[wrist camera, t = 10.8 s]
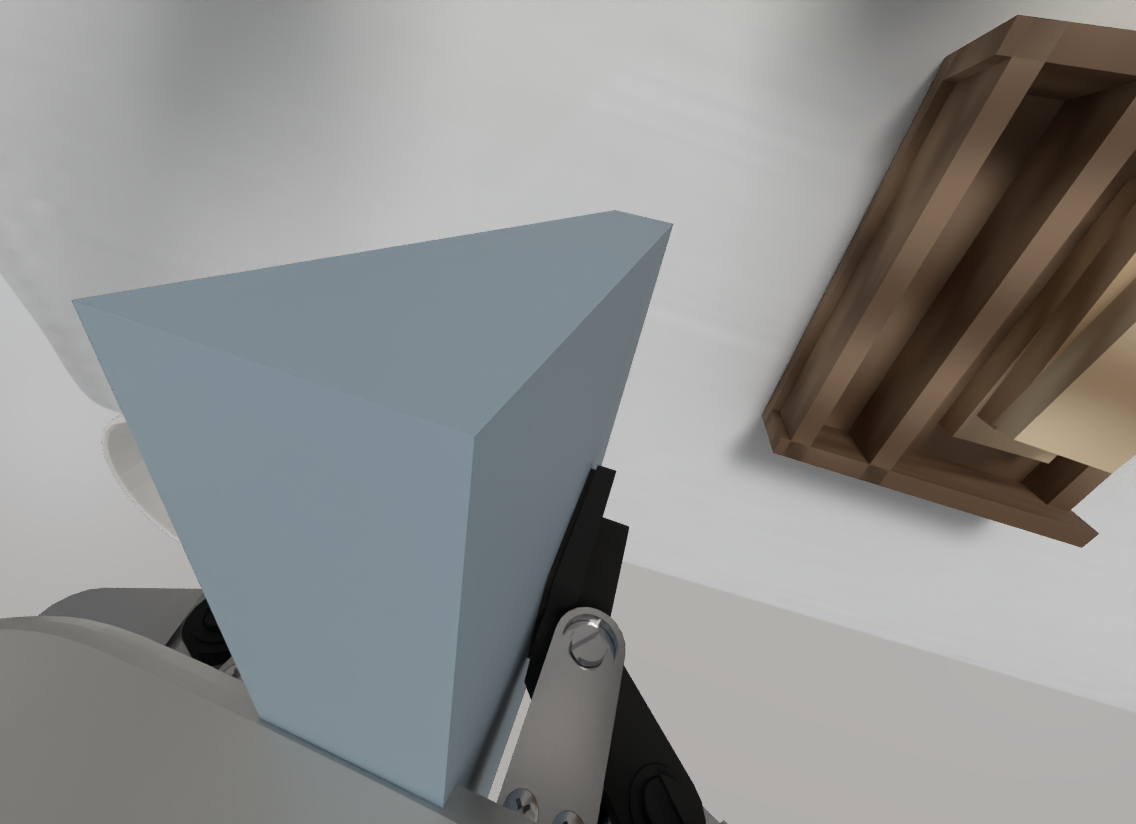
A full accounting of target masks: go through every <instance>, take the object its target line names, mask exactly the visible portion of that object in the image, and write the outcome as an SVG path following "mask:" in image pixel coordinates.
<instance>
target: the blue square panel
mask: <svg viewBox="0 0 1136 824" xmlns="http://www.w3.org/2000/svg"><path fill="white" fill-rule="evenodd" d="M672 226H673V224H672V223H667V222H663V221H659V220H655V219H650V218H646V217H642V216H638V215H633V214H629V213H625V212H620V211H616V210H614V211H608V212H602V213H596V214H590V215H584V216H578V217H572V218H566V219H560V220H554V221H548V222H542V223H536V224H530V225H523V226H517V227H511V228H505V229H499V230H493V231H487V232H481V233H475V234H469V235H463V236H457V237H451V238H445V239H439V240H433V241H426V242H420V243H414V244H408V245H402V246H396V247H390V248H384V249H378V250H372V251H366V252H360V253H354V254H348V255H342V256H336V257H330V258H323V259H317V260H311V261H305V262H299V263H293V264H287V265H281V266H275V267H269V268H263V269H257V270H251V271H245V272H239V273H233V274H226V275H220V276H214V277H208V278H202V279H196V280H190V281H184V282H178V283H172V284H166V285H160V286H154V287H148V288H142V289H136V290H130V291H123V292H117V293H111V294H105V295H99V296H93V297H87V298H81V299H75V300H72V302H73V305H74V307H75V309H76V311H77V313H78V316H79V318H80V320H81V322H82V325H83V327H84V329H85V331H86V333H87V336H88V338H89V340H90V342H91V345H92V347H93V349H94V351H95V353H96V356H97V358H98V360H99V362H100V364H101V367H102V369H103V371H104V373H105V376H106V378H107V380H108V382H109V384H110V387H111V389H112V391H113V393H114V396H115V398H116V400H117V402H118V404H119V407H120V409H121V411H122V413H123V415H124V418H125V420H126V422H127V424H128V427H129V429H130V431H131V433H132V435H133V438H134V440H135V442H136V444H137V447H138V449H139V451H140V453H141V455H142V458H143V460H144V462H145V464H146V466H147V469H148V471H149V473H150V475H151V478H152V480H153V482H154V484H155V486H156V489H157V491H158V493H159V495H160V498H161V500H162V502H163V504H164V506H165V509H166V511H167V513H168V515H169V517H170V520H171V522H172V524H173V526H174V529H175V531H176V533H177V535H178V537H179V540H180V542H181V544H182V546H183V549H184V551H185V553H186V555H187V557H188V560H189V562H190V564H191V566H192V568H193V570H194V573H195V575H196V577H197V579H198V582H199V584H200V586H201V588H202V591H203V593H204V595H205V597H206V600H207V602H208V604H209V606H210V608H211V611H212V613H213V615H214V617H215V619H216V622H217V624H218V626H219V628H220V631H221V633H222V635H223V637H224V639H225V642H226V644H227V646H228V648H229V651H230V653H231V655H232V657H233V659H234V662H235V664H236V666H237V668H238V670H239V673H240V675H241V677H242V679H243V682H244V684H245V686H246V688H247V690H248V693H249V695H250V697H251V699H252V702H253V704H254V706H255V708H256V710H257V713H258V715H259V717H260V718H261V719H263V720H265V721H267V722H269V723H271V724H273V725H275V726H277V727H279V728H281V729H283V730H285V731H287V732H289V733H291V734H293V735H295V736H297V737H299V738H301V739H303V740H305V741H307V742H309V743H311V744H313V745H315V746H317V747H319V748H322V749H324V750H326V751H328V752H330V753H332V754H334V755H336V756H338V757H340V758H342V759H344V760H346V761H348V762H350V763H352V764H354V765H356V766H358V767H360V768H362V769H364V770H366V771H368V772H370V773H372V774H374V775H376V776H378V777H380V778H382V779H385V780H387V781H389V782H391V783H393V784H395V785H397V786H399V787H401V788H403V789H405V790H407V791H409V792H411V793H413V794H415V795H417V796H419V797H421V798H423V799H425V800H427V801H429V802H431V803H433V804H435V805H437V806H439V807H441V808H443V807H444V806H445V804H446V802H447V800H448V798H449V797H450V795H451V793H452V791H453V790H454V788H455V786H456V784H458V785H460V786H462V787H464V788H466V789H468V790H471V791H473V792H475V793H477V794H479V795H481V796H483V797H485V798H488V795H489V792H490V789H491V787H492V784H493V781H494V778H495V775H496V772H497V769H498V767H499V764H500V761H501V758H502V755H503V752H504V749H505V746H506V744H507V741H508V738H509V735H510V732H511V730H512V727H513V724H514V721H515V718H516V715H517V712H518V709H519V707H520V704H521V701H522V698H523V695H524V692H525V690H526V685H525V683H524V680H525V676H526V673H527V669H528V665H529V661H530V659H529V658H527V654H528V650H529V646H530V642H531V639H532V635H533V631H534V627H535V623H536V619H537V615H538V611H539V607H540V603H541V600H542V596H543V592H544V588H545V584H546V581H547V578H548V575H549V572H550V570H551V567H552V564H553V562H554V559H555V557H556V554H557V552H558V549H559V547H560V544H561V542H562V539H563V537H564V534H565V532H566V529H567V527H568V524H569V522H570V519H571V517H572V514H573V512H574V509H575V507H576V504H577V502H578V499H579V497H580V494H581V492H582V489H583V487H584V484H585V481H586V479H587V476H588V474H589V471H590V469H591V468H592V469H595V470H596V468H597V465H600V466H601V465H602V462H603V458H604V455H605V451H606V448H607V445H608V441H609V438H610V435H611V431H612V428H613V425H614V421H615V418H616V414H617V411H618V408H619V404H620V401H621V398H622V394H623V391H624V388H625V384H626V381H627V378H628V374H629V371H630V367H631V364H632V361H633V357H634V354H635V351H636V347H637V344H638V341H639V337H640V334H641V330H642V327H643V324H644V320H645V317H646V314H647V310H648V307H649V304H650V300H651V297H652V293H653V290H654V287H655V283H656V280H657V277H658V273H659V270H660V267H661V263H662V260H663V256H664V253H665V250H666V246H667V243H668V240H669V236H670V233H671V230H672Z"/></svg>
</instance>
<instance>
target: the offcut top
mask: <svg viewBox="0 0 1136 824" xmlns="http://www.w3.org/2000/svg"><path fill="white" fill-rule="evenodd" d="M992 424H994V425H995V426H996V427H998V428H999V429H1000V430H1002V431H1003V432H1004V433H1006V434H1007V435H1008V436H1010V437H1011V438H1012V439H1014V440H1016V441H1019V442H1022V443H1025V444H1028V445H1031V446H1034V447H1037V448H1040V449H1042V450H1045V451H1048V452H1051V453H1054V454H1057V455H1060V456H1063V457H1066V458H1069V459H1071V460H1074V461H1077V462H1080V463H1083V464H1086V465H1089V466H1092V467H1095V468H1097V469H1100V470H1103V471H1106V472H1109V473H1113V472H1114V471H1115V470H1117V469H1118V468H1119V467H1120V466H1122V465H1123V464H1124V463H1126V462H1127V461H1128V460H1129V459H1131V458H1132V457H1133V456H1134V455H1136V278H1135V279H1134V280H1133V281H1132V282H1131V283H1130V284H1129V285H1128V286H1127V287H1126V288H1125V289H1124V290H1123V291H1122V292H1121V293H1120V294H1119V295H1118V296H1117V297H1116V298H1115V299H1114V300H1113V301H1112V302H1111V303H1110V304H1109V305H1108V306H1107V307H1106V308H1105V309H1104V310H1103V311H1102V312H1101V313H1100V314H1099V315H1098V317H1097V318H1096V319H1095V320H1094V321H1093V322H1092V323H1091V324H1090V325H1089V326H1088V327H1087V328H1086V329H1085V330H1084V331H1083V332H1082V333H1081V334H1080V335H1079V336H1078V337H1077V338H1076V339H1075V340H1074V341H1073V342H1072V343H1071V344H1070V345H1069V346H1068V347H1067V348H1066V349H1065V350H1064V351H1063V352H1062V353H1061V354H1060V355H1059V356H1058V357H1057V358H1056V359H1055V360H1054V361H1053V362H1052V363H1051V364H1050V365H1049V366H1048V367H1047V368H1046V369H1045V370H1044V372H1043V373H1042V374H1041V375H1040V376H1039V377H1038V378H1037V379H1036V380H1035V381H1034V382H1033V383H1032V384H1031V385H1030V386H1029V387H1028V388H1027V389H1026V390H1025V391H1024V392H1023V393H1022V394H1021V395H1020V396H1019V397H1018V398H1017V399H1016V400H1015V401H1014V402H1013V403H1012V404H1011V405H1010V406H1009V407H1008V408H1007V409H1006V410H1005V411H1004V412H1003V413H1002V414H1001V415H1000V416H999V417H998V418H997V419H996V420H995V421H994V422H993V423H992Z"/></svg>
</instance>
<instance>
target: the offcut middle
mask: <svg viewBox="0 0 1136 824" xmlns="http://www.w3.org/2000/svg"><path fill="white" fill-rule="evenodd" d="M1135 278H1136V203H1135V205H1134V206H1133V207H1132V209H1131V210H1130V211H1129V213H1128V214H1127V215H1126V217H1125V218H1124V219H1123V221H1122V222H1121V223H1120V225H1119V226H1118V227H1117V229H1116V230H1115V231H1114V233H1113V234H1112V235H1111V237H1110V238H1109V239H1108V241H1107V242H1106V243H1105V245H1104V246H1103V247H1102V249H1101V250H1100V251H1099V253H1098V254H1097V255H1096V257H1095V258H1094V259H1093V261H1092V262H1091V263H1090V265H1089V266H1088V267H1087V269H1086V270H1085V271H1084V273H1083V274H1082V275H1081V277H1080V278H1079V279H1078V281H1077V282H1076V283H1075V285H1074V286H1073V287H1072V289H1071V290H1070V291H1069V293H1068V294H1067V295H1066V297H1065V298H1064V299H1063V301H1062V302H1061V303H1060V305H1059V306H1058V307H1057V309H1056V310H1055V311H1054V313H1053V314H1052V315H1051V317H1050V318H1049V319H1048V321H1047V322H1046V324H1045V325H1044V326H1043V328H1042V329H1041V330H1040V332H1039V333H1038V334H1037V336H1036V337H1035V338H1034V340H1033V341H1032V342H1031V344H1030V345H1029V346H1028V348H1027V349H1026V350H1025V352H1024V353H1023V354H1022V356H1021V357H1020V358H1019V360H1018V361H1017V362H1016V364H1015V365H1014V366H1013V368H1012V369H1011V370H1010V372H1009V373H1008V374H1007V376H1006V377H1005V378H1004V380H1003V381H1002V382H1001V384H1000V385H999V386H998V388H997V389H996V390H995V392H994V393H993V394H992V396H991V397H990V398H989V400H988V401H987V402H986V404H985V405H984V406H983V408H982V409H981V410H980V412H979V413H978V414H977V416H978V417H979V418H980V419H982V420H983V421H984V422H986V423H987V424H988V425H989V426H991V427H992V428H993V429H995V430H998V431H1002V430H1000V429H999V428H998V427H996V426H995V425H994V424H992V423H993V422H994V421H995V420H996V419H997V418H998V417H999V416H1000V415H1001V414H1002V413H1003V412H1004V411H1005V410H1006V409H1007V408H1008V407H1009V406H1010V405H1011V404H1012V403H1013V402H1014V401H1015V400H1016V399H1017V398H1018V397H1019V396H1020V395H1021V394H1022V393H1023V392H1024V391H1025V390H1026V389H1027V388H1028V387H1029V386H1030V385H1031V384H1032V383H1033V382H1034V381H1035V380H1036V379H1037V378H1038V377H1039V376H1040V375H1041V374H1042V373H1043V372H1044V370H1045V369H1046V368H1047V367H1048V366H1049V365H1050V364H1051V363H1052V362H1053V361H1054V360H1055V359H1056V358H1057V357H1058V356H1059V355H1060V354H1061V353H1062V352H1063V351H1064V350H1065V349H1066V348H1067V347H1068V346H1069V345H1070V344H1071V343H1072V342H1073V341H1074V340H1075V339H1076V338H1077V337H1078V336H1079V335H1080V334H1081V333H1082V332H1083V331H1084V330H1085V329H1086V328H1087V327H1088V326H1089V325H1090V324H1091V323H1092V322H1093V321H1094V320H1095V319H1096V318H1097V317H1098V315H1099V314H1100V313H1101V312H1102V311H1103V310H1104V309H1105V308H1106V307H1107V306H1108V305H1109V304H1110V303H1111V302H1112V301H1113V300H1114V299H1115V298H1116V297H1117V296H1118V295H1119V294H1120V293H1121V292H1122V291H1123V290H1124V289H1125V288H1126V287H1127V286H1128V285H1129V284H1130V283H1131V282H1132V281H1133V280H1134V279H1135ZM1002 432H1003V431H1002Z"/></svg>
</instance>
